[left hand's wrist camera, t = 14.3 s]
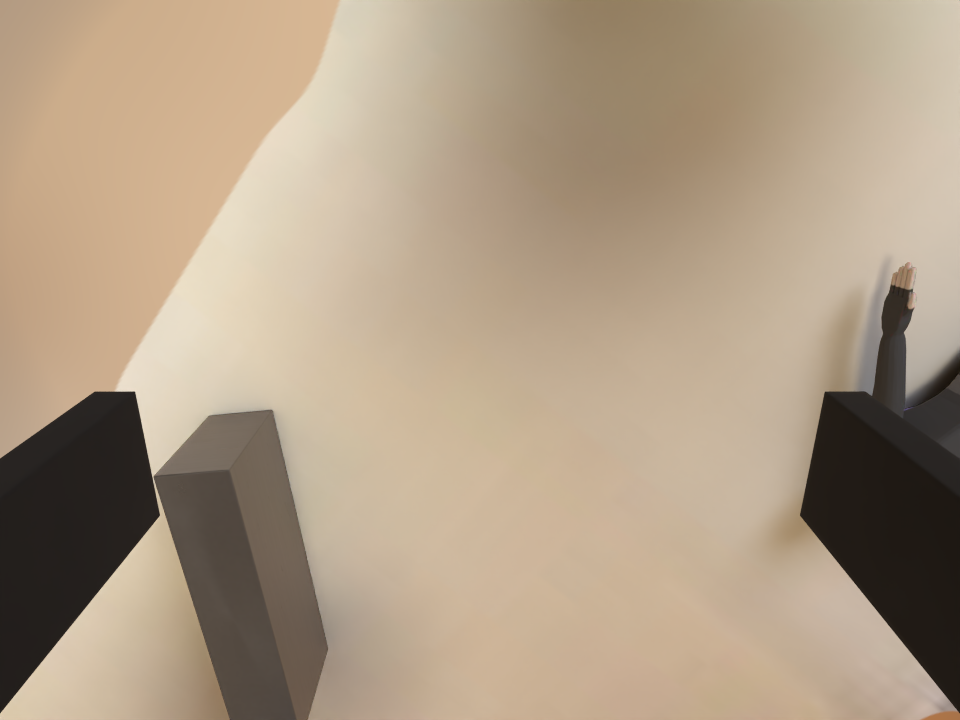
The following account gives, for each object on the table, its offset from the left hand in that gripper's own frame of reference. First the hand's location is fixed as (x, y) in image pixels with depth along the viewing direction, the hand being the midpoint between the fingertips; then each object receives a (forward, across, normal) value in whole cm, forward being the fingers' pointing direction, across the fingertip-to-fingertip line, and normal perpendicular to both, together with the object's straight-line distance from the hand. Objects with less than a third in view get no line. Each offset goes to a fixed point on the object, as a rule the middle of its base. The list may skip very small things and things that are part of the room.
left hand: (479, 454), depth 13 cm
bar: (+32, -16, -26) cm, 44 cm away
